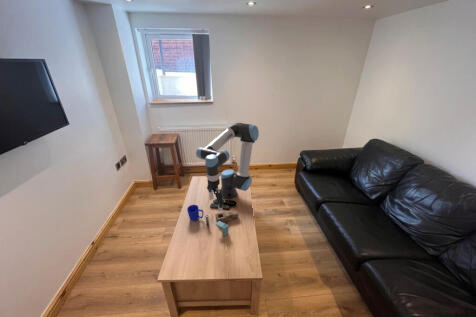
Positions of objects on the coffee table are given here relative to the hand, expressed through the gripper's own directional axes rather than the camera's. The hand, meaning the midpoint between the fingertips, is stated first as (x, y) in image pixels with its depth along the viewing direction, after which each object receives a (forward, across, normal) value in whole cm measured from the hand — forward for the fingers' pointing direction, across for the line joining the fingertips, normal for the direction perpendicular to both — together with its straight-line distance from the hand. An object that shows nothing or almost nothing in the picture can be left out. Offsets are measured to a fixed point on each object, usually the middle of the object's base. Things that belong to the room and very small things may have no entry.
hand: (215, 204), depth 130 cm
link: (+21, -2, +9) cm, 23 cm away
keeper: (+21, +6, 0) cm, 22 cm away
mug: (+21, -16, -10) cm, 28 cm away
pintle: (+21, -6, -6) cm, 22 cm away
